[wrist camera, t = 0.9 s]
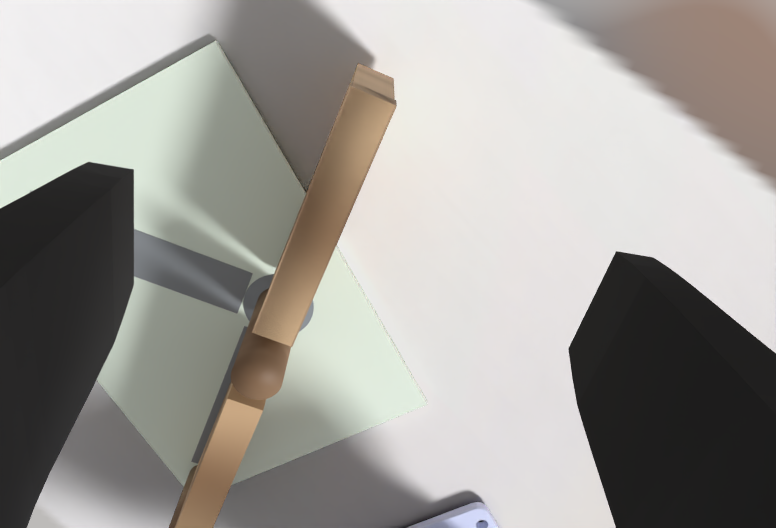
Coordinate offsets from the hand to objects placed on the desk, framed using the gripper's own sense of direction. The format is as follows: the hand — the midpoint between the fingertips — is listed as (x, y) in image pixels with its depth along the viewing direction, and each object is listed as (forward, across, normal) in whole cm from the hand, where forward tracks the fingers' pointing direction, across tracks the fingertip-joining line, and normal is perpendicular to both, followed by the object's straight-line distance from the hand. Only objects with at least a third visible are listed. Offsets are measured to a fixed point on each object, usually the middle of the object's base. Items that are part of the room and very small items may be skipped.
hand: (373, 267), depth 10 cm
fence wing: (+12, 0, +5) cm, 13 cm away
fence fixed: (+11, +2, +15) cm, 19 cm away
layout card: (+12, +4, +11) cm, 17 cm away
